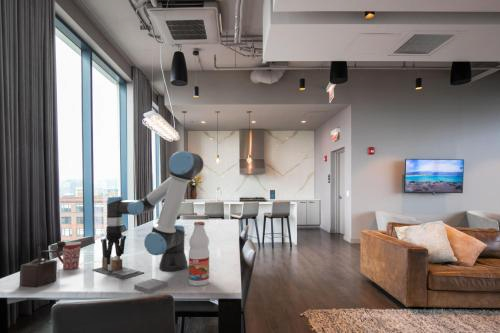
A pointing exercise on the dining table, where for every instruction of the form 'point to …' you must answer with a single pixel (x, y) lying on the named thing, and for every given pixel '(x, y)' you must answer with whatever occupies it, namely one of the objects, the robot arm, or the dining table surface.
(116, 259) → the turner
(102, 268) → the mat
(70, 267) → the mug
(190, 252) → the fruit juice
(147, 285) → the tile
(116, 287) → the dining table surface
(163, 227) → the robot arm
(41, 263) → the manual coffee grinder
